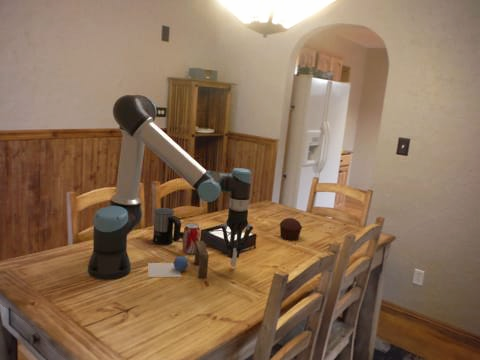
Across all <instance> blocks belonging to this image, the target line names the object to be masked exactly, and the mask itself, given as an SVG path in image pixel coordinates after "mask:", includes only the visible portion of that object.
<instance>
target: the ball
mask: <svg viewBox="0 0 480 360" xmlns="http://www.w3.org/2000/svg"><path fill="white" fill-rule="evenodd" d="M188 261H189V260H188V259H187V257H185V256H177V257H176V258H175V259H174V261H173V263H174V267H175V269H176V270H178V271H180V272H183V271H185V270H186V269H187V268H188V265H189V262H188Z"/></svg>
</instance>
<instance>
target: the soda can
mask: <svg viewBox="0 0 480 360" xmlns="http://www.w3.org/2000/svg"><path fill="white" fill-rule="evenodd" d="M183 232H184V234H183V238H182V251H183V252H184V253H185V254H188V255H193V254H194V255H195V248H196V241H201V240H200V238H201V228H200V225H199V224H197V223H187V224H185V226H184V229H183Z"/></svg>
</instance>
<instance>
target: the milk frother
mask: <svg viewBox="0 0 480 360" xmlns="http://www.w3.org/2000/svg"><path fill="white" fill-rule="evenodd" d="M181 229H182V221H181V219H180V218H179V217H178V216H177V215H175V209H172V208H168V207H159V208H156V209H154V210H153V237H152V238H153V239H152V243H153V244H155V245H157V246H158V245H159V246H168V245H172V244H173V243H174V242H175V243H176V242H178V241H180V239H183V234H184V231H181Z"/></svg>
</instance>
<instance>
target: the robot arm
mask: <svg viewBox="0 0 480 360" xmlns="http://www.w3.org/2000/svg"><path fill="white" fill-rule="evenodd" d="M112 107H113V108H112V115H113V118H114V121H115V122H116V123H117V125H118V126H119V127H118V128H119V129H118V130H119V131H120V132H121V134H122V139H121V146H120V156H119V163H118V171H117V180H116V186H115V193H114V195H112V196H111V197H110V202H109V205H107V206H103V207H100V208H99V209H97V210H96V212H95V213H94V215H93V221H92V222H93V223H92V224H93V241H92V242H93V243H92V244H93V246H92V247H93V250H92V254H91V256H90V259H89V262H88V264H87V274H88V275H89V276H90V277H91V278H94V279H98V280H105V281H106V280H117V279H120V278H123V277H125V276H127V275H128V274H129V273H131V266H132V265H131V261H130V258H129V255H128V252H127V246H128V245H127V244H128V235H129V234H130V233H132V231H133V230H134V229H136V228H137V227H138V226H139V225H140V222H141V221H142V218H143V209H142V206H141V205H142V200H141V198H140V197H139V193H140V192H139V191H140V190H139V189H140V184H141V183H140V182H141V178H142V177H141V176H142V169H143V162H144V153H145V148H146V147H147V148H148V149H150V150H151V151H152V152H153V153H154V154H155V155H156V156H157V157H158V158H160V159H161V160H162V161H163V162H164V163H165V164H166V165H168V166H169V167H170V168H171V169H172V170H173V171H174V172H175V173H176V174H178V176H180V177H181V178H182V179H183V180H184V181H185V182H187V184H189V185H190V186H191V188H193V189H194V190H195V191H196V192H197V194H198V197H199V198H200V199H201V200H202V201H204V202H205V203H206V202H207V203H210V202H215V201H216V200H217V199H219V197H220V195H221V193H227V194H229V193H230V194H229V202H228V207H229V208H228V214H227V220H226V222H225V223H223V224H220V225H219V226H220V228H221V230H222V235H223V242H224V245H225V249H226V250H229V252H228V256H229V258H230V265H231V268H232V267H233V268H234V267H235V268H236V267H237V266H236V265H237V259H239V258H240V252H241V250H244V249H246V245H247V242H248V239H249V236H250V233H251V232H252V231H253V229H254V227H253V226H252V224H249V222H248V218H249V217H248V215H249V204H250V197H251V196H250V195H251V187H252V174H253V173H252V171H251V170H250V169H249V168H248V169H247V168H243V167H240V168H239V167H234V168H233V169H232V171H231V172H223V171H213V170H207V169H205V168H204V167H203V166H202V165H201V164H200V163H198V161H197V160H195V159H194V158H193V157H192V156H191V155H190V154H189V153H188V152H187V151H185V150H184V149H183V148H182V147H181V146H180V145H179V144H178V143H176V141H175V140H173V139H172V138H171V137H170V136H169V135H168V134H167V133H166V132H164V131H163V129H161V128H160V127H159V126H158V125H157V124H156V123H155V122H154V121H155V120H156V117H157V108H156V107H157V106H156V105H155V103H154V102H153V100H152V99H151V98H149V97H148V96H145V95H141V94H134V95H133V94H125V95H122V96H121V97H119V98H118V99H117V100H116V101H115V102H114V104H113V106H112ZM145 146H146V147H145ZM227 229H230V237H229V238H228V231H227ZM243 231H245V232H244V234H243ZM242 234H243V237H242ZM235 238H236V239H235Z"/></svg>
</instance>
